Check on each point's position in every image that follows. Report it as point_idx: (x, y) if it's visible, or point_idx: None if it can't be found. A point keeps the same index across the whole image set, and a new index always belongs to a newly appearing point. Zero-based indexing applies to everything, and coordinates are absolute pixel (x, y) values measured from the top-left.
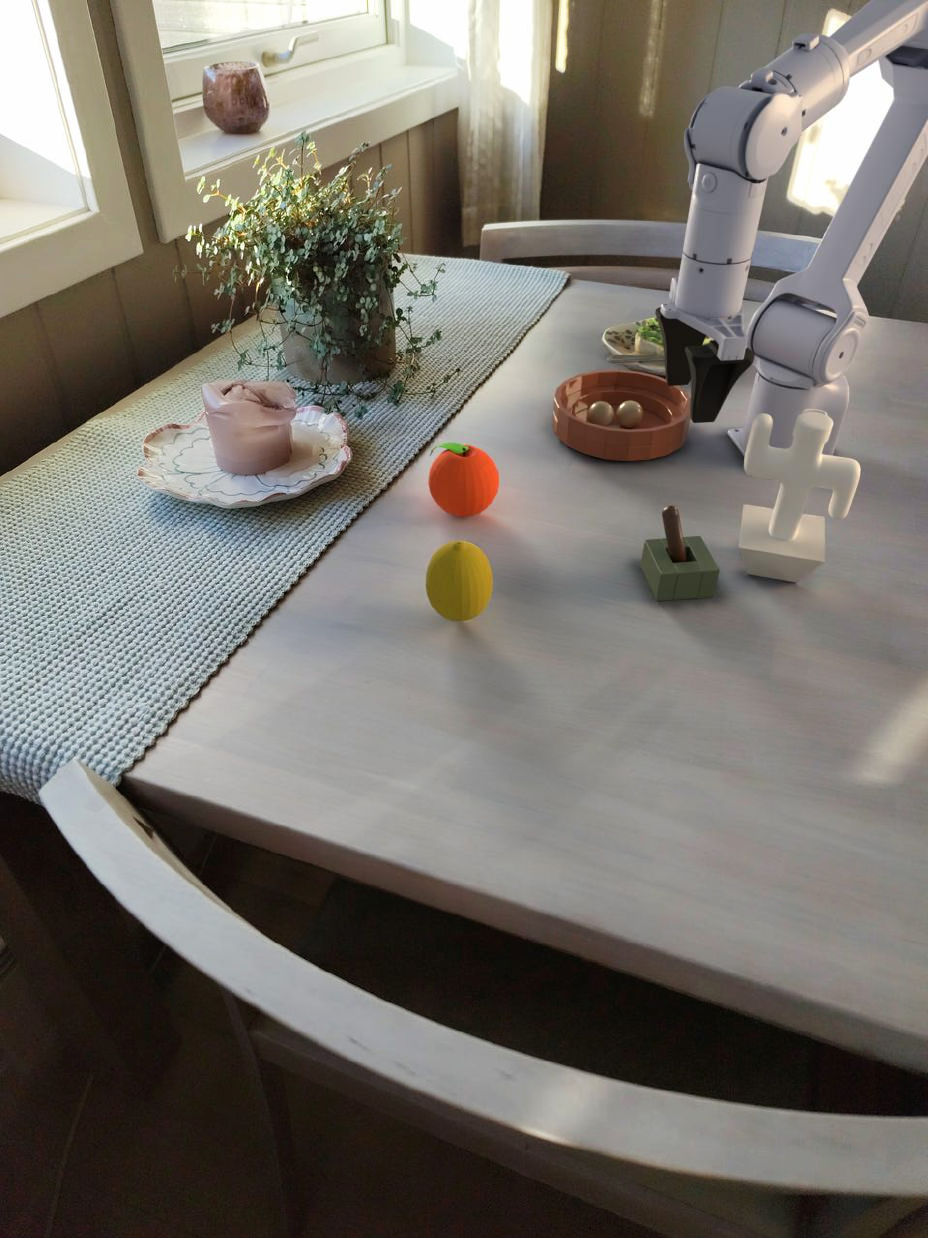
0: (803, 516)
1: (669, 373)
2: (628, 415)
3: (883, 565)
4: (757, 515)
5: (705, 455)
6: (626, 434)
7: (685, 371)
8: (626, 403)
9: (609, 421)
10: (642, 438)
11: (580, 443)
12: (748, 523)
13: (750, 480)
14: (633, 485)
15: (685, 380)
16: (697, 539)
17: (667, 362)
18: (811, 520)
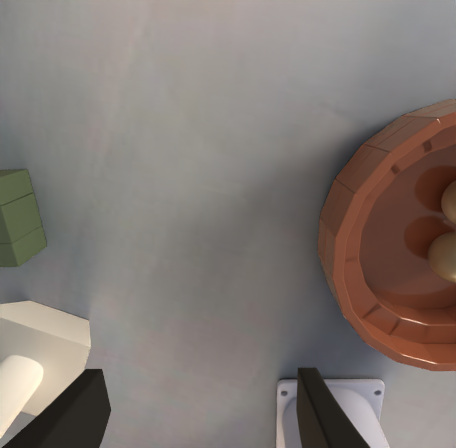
0: None
1: (304, 396)
2: (441, 252)
3: None
4: (61, 354)
5: (326, 334)
6: (336, 228)
7: (304, 436)
8: None
9: (445, 214)
10: (329, 255)
11: (378, 139)
12: (38, 338)
13: (249, 367)
14: (253, 211)
15: (298, 414)
16: (7, 260)
17: (318, 420)
18: None
